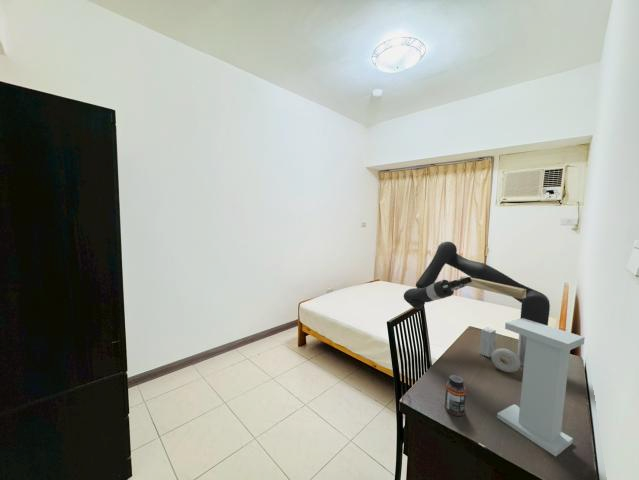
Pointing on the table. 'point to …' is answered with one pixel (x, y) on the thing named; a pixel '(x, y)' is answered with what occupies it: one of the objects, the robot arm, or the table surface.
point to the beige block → (497, 288)
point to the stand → (542, 384)
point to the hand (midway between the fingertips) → (473, 278)
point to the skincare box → (487, 341)
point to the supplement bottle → (455, 396)
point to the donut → (509, 354)
